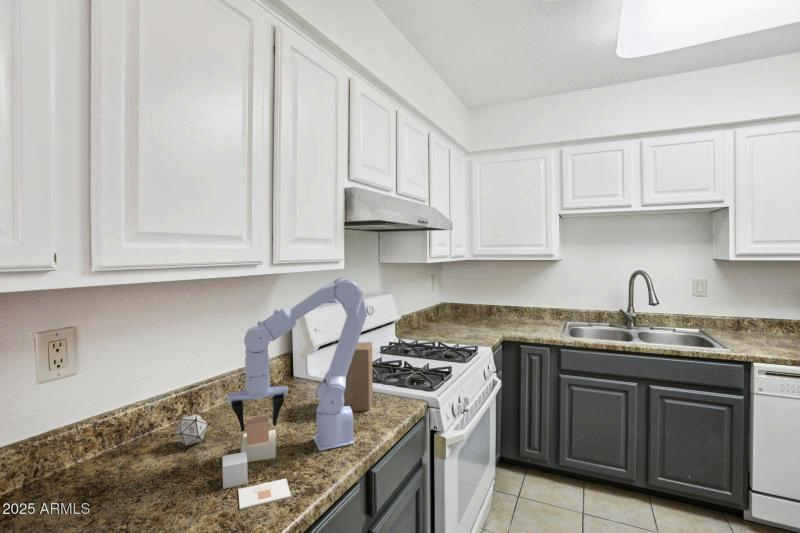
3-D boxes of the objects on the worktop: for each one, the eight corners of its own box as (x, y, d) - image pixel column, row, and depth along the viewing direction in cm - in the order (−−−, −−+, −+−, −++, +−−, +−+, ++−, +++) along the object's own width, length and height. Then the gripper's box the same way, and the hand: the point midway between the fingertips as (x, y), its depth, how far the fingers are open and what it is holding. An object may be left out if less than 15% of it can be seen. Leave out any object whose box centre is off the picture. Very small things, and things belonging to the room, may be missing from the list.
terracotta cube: (267, 432, 107) (266, 414, 107) (268, 441, 102) (268, 421, 102) (246, 436, 105) (246, 417, 105) (247, 444, 100) (247, 424, 100)
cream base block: (276, 444, 109) (275, 429, 109) (275, 459, 101) (275, 443, 101) (244, 448, 107) (243, 433, 106) (241, 464, 99) (240, 448, 99)
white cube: (246, 472, 95) (246, 451, 94) (247, 484, 90) (247, 461, 90) (223, 477, 93) (222, 456, 92) (223, 489, 88) (222, 466, 88)
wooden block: (343, 399, 140) (343, 341, 139) (372, 399, 140) (372, 342, 139) (338, 411, 130) (337, 349, 129) (369, 411, 130) (368, 349, 129)
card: (286, 479, 91) (286, 477, 91) (291, 497, 85) (291, 495, 85) (238, 490, 87) (238, 488, 87) (239, 509, 81) (239, 507, 81)
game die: (194, 454, 110) (207, 416, 116) (207, 452, 105) (221, 412, 111) (160, 447, 105) (176, 407, 111) (173, 445, 100) (189, 403, 106)
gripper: (226, 382, 96) (228, 439, 97) (289, 374, 102) (290, 428, 103) (226, 374, 103) (227, 427, 103) (285, 367, 109) (286, 417, 109)
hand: (258, 426), depth 104 cm, fingers open, 7 cm apart
